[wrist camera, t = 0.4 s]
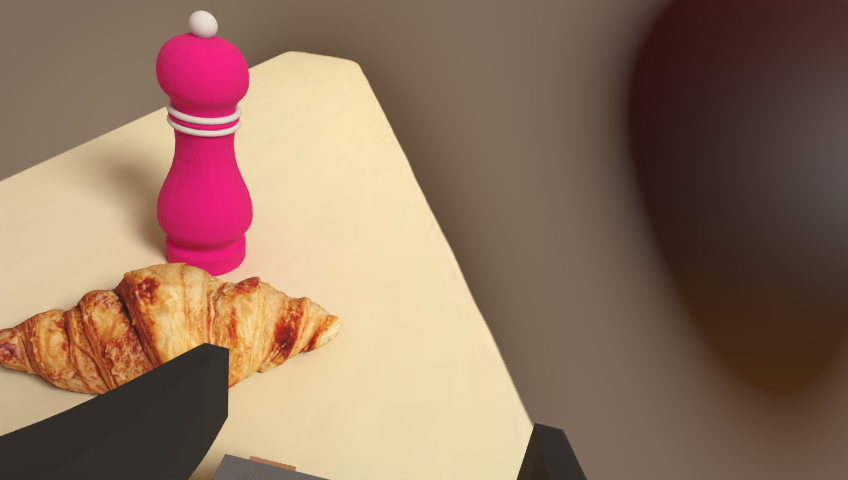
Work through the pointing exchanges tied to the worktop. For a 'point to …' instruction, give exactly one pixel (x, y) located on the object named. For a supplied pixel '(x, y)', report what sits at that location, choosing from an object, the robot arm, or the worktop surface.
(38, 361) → the croissant
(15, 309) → the worktop surface
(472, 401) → the worktop surface
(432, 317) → the worktop surface
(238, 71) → the pepper mill
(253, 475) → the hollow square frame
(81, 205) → the worktop surface
